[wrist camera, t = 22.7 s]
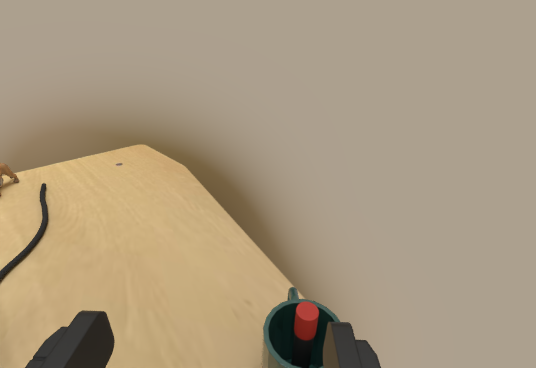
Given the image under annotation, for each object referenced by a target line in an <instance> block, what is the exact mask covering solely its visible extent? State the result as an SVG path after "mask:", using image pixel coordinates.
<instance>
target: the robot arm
mask: <svg viewBox="0 0 536 368" xmlns="http://www.w3.org/2000/svg"><path fill="white" fill-rule="evenodd" d="M45 189H46V184H45V183H43V184H42V186H41V191H40V202H41V206H42V216H43V219H42V223H41V226H40V228H39V230H38V232H37V234H36V235H35V237H34V238H33V240H32V241H31V242H30V243H29V244H28V246H27V247H26V248H25V249H24V250H23V251H22V252H21V253H20V254H19V255H17V256H16V257H15V258H14V259H13V260H12V261H11V262H9V263H8V264H7V265H6V266H5V267H4V268H3V269H2V270H1V271H0V280H1V279H2V278H3V276H4V275H5V274H6V273H7V272H8V271H9V270H10V269H11V268H12V267H13V266H15V265H16V264H17V263H18V262H19V261H20V260H21V259H22V258H23V257H25V256H26V255H27V254H28V253H29V252H30V251H31V249H32V248H33V247H34V246H35V245H36V243H37V242H38V241H39V239H40V238H41V236H42V235H43V233H44V231H45V228H46V225H47V221H48V212H47V205H46V202H45ZM113 348H114V336H113V332H112V329H111V326H110V323H109V320H108V317H107V314H106V312H104V311H81V312H79V313H78V314H77V315H76V317H75V318H74V319H73V321H72V322H71V324H70V325H69V326H68V327H61V328H60V329H59V330H57V331H56V332H55V333H54V334H53V335H51V336H50V337H49V338H48V339H47V340H45V342H44V343H43V344H42V346H41V347H40V348H39V350H38V351H37V352H36V354H35V355H34V356H33V359H32V360H30V362H29V363H28V364H27V366H26V367H25V368H105V367H106V365H107V363H108V361H109V359H110V357H111V355H112V352H113ZM323 366H324V368H381V367H380V363H379V360H378V357H377V355H376V353H375V352H374V351H373V349H372V348H371V347H370V345H369V344H368V342H367V341H366V340H355V337H354V333H353V329H352V326H351V324H350V323H348V322H328V325H327V331H326V336H325V341H324V346H323Z"/></svg>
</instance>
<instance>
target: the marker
mask: <svg viewBox="0 0 536 368" xmlns="http://www.w3.org/2000/svg"><path fill="white" fill-rule="evenodd" d="M318 316H319V310H318V308H317V307H316V305H314V304H313V303H311V302H301V303H300V304H298V306H297V308H296V315H295V324H294V332H295V333H294V342H293V351H292V360H291V365H294V366H297V367H301V368H309V366H310V360H311V354H312V347H313V341H314V336H315V334H316V328H317V322H318Z"/></svg>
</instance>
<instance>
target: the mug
mask: <svg viewBox="0 0 536 368" xmlns="http://www.w3.org/2000/svg"><path fill="white" fill-rule="evenodd" d="M301 302H311V303H313V304H314V305H316V307H317V308H318V310H319V316H318V322H317V328H316V334H315V336H314V341H313V347H312V354H311V360H310V366H309V368H324V366H323V346H324V341H325V336H326V331H327V325H328V322H340V321H339V319H338V318H337V317H336V315H335V314H334V313H332V312H331V311H330V310H329V309H328V308H327V307H325V306H323V305H321V304H319V303H317V302H315V301H310V300H306V299H299V297H298V292H297V289H296V288H294V287H291V288H290V289H289V291H288V301H285V302H282V303H281V304H279V305H278V306H276V307H275V308H273V309H272V311H271V312H270V313H269V315H268V316H267V317H266V321H265V324H264V327H263V351H262V368H301V367H297V366H294V365H291V360H292V351H293V342H294V333H295V332H294V324H295V315H296V308H297V306H298V304H300V303H301Z"/></svg>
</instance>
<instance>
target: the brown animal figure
mask: <svg viewBox="0 0 536 368" xmlns="http://www.w3.org/2000/svg"><path fill="white" fill-rule="evenodd" d="M2 174H5V175H7V176H9V177H10V178H11V179H12V178H14V181H13V182H14V183H17V182H19V180H18V178H17V176H16V174H13V173H12V172H11V170H10V169H9V167H8V166H7V165H6V164H4V163H0V187H1V186H2V184H3V178H2ZM0 196H1V194H0Z"/></svg>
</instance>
